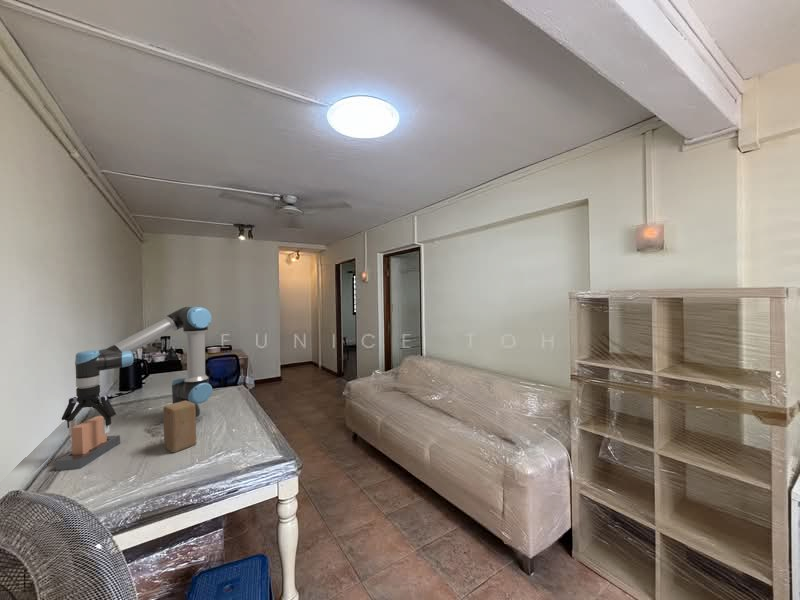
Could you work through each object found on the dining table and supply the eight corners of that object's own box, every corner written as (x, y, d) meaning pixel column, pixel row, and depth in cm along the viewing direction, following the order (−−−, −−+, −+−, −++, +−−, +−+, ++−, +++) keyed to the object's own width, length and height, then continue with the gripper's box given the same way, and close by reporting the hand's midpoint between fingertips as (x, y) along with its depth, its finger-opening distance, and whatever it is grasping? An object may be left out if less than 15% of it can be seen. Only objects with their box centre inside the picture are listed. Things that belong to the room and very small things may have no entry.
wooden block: (173, 453, 141) (172, 409, 140) (163, 448, 146) (162, 405, 146) (197, 444, 149) (196, 403, 149) (187, 439, 155) (186, 399, 154)
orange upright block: (107, 445, 147) (106, 415, 146) (83, 459, 134) (82, 427, 133) (96, 446, 146) (96, 416, 146) (71, 460, 133) (70, 428, 133)
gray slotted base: (120, 443, 151) (119, 435, 151) (80, 468, 130) (80, 459, 130) (99, 444, 150) (98, 436, 150) (55, 470, 128) (55, 460, 128)
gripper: (125, 382, 145) (126, 428, 145) (64, 384, 141) (66, 431, 142) (112, 386, 137) (114, 435, 138) (48, 390, 134) (50, 439, 134)
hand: (89, 433), depth 140 cm, fingers open, 12 cm apart
